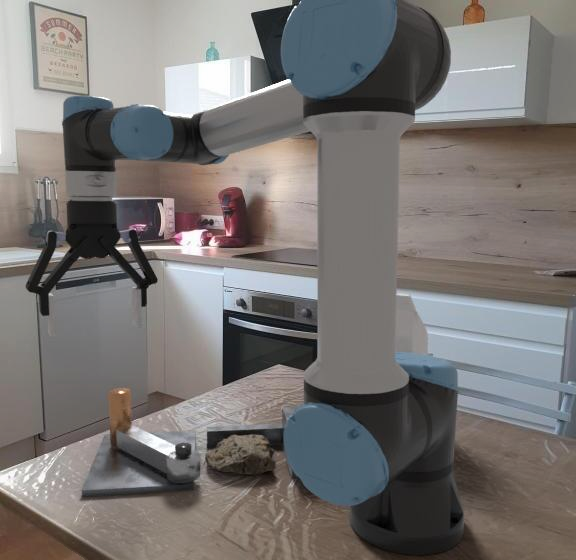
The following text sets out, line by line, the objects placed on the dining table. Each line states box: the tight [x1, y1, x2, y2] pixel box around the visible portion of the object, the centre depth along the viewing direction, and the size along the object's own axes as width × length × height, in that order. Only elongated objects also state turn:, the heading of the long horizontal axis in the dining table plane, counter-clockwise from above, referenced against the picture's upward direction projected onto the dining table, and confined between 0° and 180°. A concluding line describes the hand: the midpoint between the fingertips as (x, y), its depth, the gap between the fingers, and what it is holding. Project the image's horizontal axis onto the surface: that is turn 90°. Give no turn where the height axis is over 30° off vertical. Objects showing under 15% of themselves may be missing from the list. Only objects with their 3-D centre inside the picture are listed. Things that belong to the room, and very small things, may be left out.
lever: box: [108, 387, 201, 483], centre depth 94 cm, size 21×5×9 cm, turn 48°
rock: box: [204, 435, 276, 476], centre depth 96 cm, size 11×11×4 cm
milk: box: [395, 293, 429, 356], centre depth 108 cm, size 12×12×26 cm
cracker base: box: [81, 406, 300, 498], centre depth 97 cm, size 20×34×7 cm, turn 98°
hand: (96, 330), depth 96 cm, fingers open, 13 cm apart
